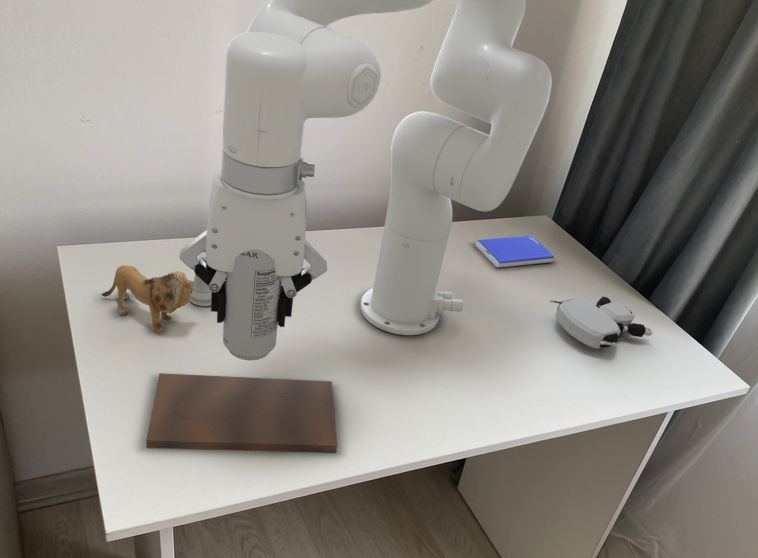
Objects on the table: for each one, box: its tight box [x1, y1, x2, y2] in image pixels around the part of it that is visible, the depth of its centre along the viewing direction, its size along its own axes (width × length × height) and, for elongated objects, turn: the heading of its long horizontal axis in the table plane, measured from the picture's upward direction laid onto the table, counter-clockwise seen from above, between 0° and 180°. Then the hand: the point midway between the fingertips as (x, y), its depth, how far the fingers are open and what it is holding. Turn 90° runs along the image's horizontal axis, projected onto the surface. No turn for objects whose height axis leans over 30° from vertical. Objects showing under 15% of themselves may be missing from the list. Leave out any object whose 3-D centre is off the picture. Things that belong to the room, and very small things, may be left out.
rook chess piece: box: [189, 250, 212, 307], centre depth 107 cm, size 4×4×8 cm
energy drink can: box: [222, 250, 282, 361], centre depth 81 cm, size 6×6×15 cm
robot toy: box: [548, 295, 653, 349], centre depth 120 cm, size 12×4×15 cm
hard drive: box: [475, 234, 555, 268], centre depth 138 cm, size 2×8×12 cm
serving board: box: [145, 372, 338, 453], centre depth 91 cm, size 22×12×1 cm, turn 98°
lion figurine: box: [100, 264, 195, 333], centre depth 101 cm, size 15×5×9 cm, turn 70°
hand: (251, 316), depth 83 cm, fingers closed on energy drink can, 6 cm apart
